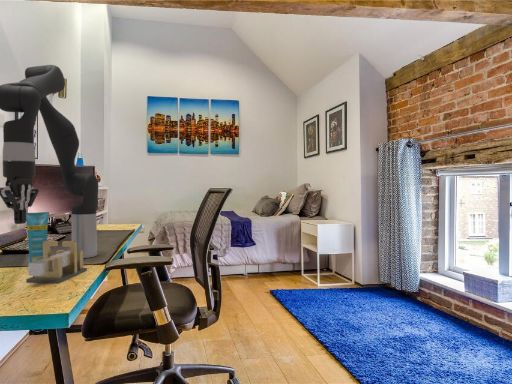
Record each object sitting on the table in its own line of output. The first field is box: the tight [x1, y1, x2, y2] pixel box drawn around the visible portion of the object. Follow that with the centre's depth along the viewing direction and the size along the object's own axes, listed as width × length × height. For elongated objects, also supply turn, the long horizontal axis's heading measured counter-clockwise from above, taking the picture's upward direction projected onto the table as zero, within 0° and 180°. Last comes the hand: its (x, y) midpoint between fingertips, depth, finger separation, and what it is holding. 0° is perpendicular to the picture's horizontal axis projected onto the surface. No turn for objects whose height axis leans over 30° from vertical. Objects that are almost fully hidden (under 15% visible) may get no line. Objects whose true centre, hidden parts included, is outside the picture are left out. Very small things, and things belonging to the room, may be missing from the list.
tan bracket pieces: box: [32, 249, 84, 279], centre depth 121 cm, size 14×8×6 cm, turn 176°
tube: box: [26, 211, 50, 263], centre depth 135 cm, size 7×5×19 cm, turn 123°
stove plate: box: [25, 267, 88, 284], centre depth 120 cm, size 16×10×1 cm, turn 176°
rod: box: [27, 250, 70, 277], centre depth 119 cm, size 20×4×4 cm, turn 176°
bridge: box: [43, 240, 77, 273], centre depth 121 cm, size 2×10×10 cm, turn 85°
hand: (20, 223), depth 103 cm, fingers closed
